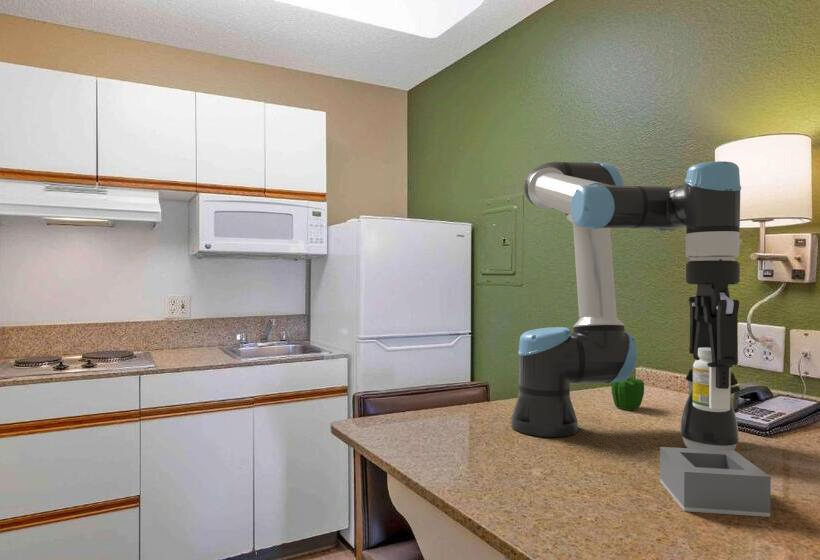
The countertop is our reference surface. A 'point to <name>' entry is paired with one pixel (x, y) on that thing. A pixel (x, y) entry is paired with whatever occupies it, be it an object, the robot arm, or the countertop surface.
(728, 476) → the well
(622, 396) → the bell pepper
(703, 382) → the supplement bottle
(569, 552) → the countertop surface
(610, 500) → the countertop surface
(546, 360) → the robot arm
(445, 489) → the countertop surface
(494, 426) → the countertop surface
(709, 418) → the pump dispenser
